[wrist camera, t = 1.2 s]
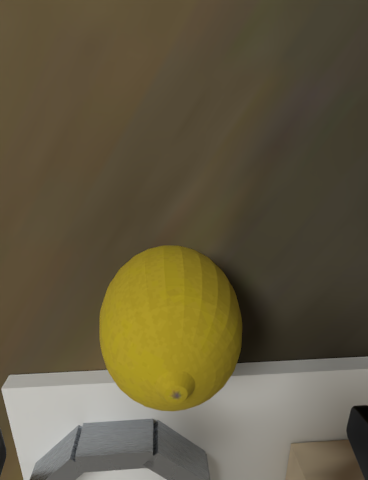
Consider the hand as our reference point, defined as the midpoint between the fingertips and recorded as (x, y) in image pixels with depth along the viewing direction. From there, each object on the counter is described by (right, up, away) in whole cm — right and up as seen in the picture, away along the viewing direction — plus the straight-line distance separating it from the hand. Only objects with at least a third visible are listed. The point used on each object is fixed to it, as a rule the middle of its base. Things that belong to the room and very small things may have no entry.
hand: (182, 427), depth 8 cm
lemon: (-1, +3, +9) cm, 9 cm away
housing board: (+2, -10, +14) cm, 17 cm away
